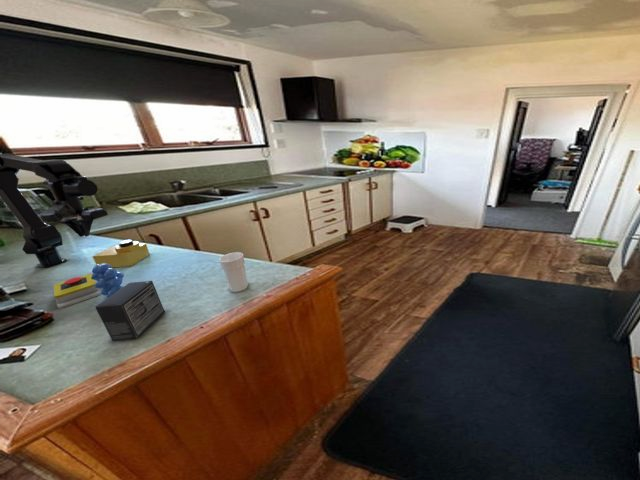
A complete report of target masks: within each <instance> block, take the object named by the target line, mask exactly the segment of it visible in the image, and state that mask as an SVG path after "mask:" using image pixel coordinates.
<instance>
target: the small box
mask: <svg viewBox="0 0 640 480" xmlns="http://www.w3.org/2000/svg"><path fill="white" fill-rule="evenodd" d="M94 309H95V310H96V312H97V314H98V315H99V318H100V319H101V322H102V323H103V326H104V327H105V329H106V331H107V333H108V335H109V337H110V340H111V341H113V342H116V341H127V340H128V341H129V340H138V339H139V338H140V337H141V336H142V335H143V334H144V333H145V332H146V331H147V330H148V329H149V328H151V326H153V325H154V323H155V322H157V320H158V319H160V317H162V316H163V315H164V314H165V313H166V310H165V308H164V306H163V304H162V301H161V298H160V297H159V294H158V292H157V288H156V287H155V284H154V282H153V280H145V281H143V280H142V281H135V282H133V281H132V282H129V283H127V284H126V285H123V288H121V289H120V290H118V291H117V292H115V293H114V294H113V295H111V296H110V297H107V298H105V299H103V300H102V301H101V302H99V303H98V304H96V305H95V306H94Z"/></svg>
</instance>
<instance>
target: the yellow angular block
mask: <svg viewBox="0 0 640 480" xmlns="http://www.w3.org/2000/svg"><path fill="white" fill-rule="evenodd" d="M132 241H133V243H134V244H133V245H130V246H127V247H120V245H119V244H115V245H112V246H110V247H108V248H106V249H104V250H102V251H101V252H100V251H99V252H98V253H96V254H94V255H92V259H93V260H94V263H95V265H100V264H108V265H111V268H123V267H133V266H134V265H135V264H137V263H139V262H140V261H142V260H143V259H145V258H146V257H148V256H151V253H150V250H149V248H148V245H147V243H144V242H143V243H140V242H139V241H137V240H132Z"/></svg>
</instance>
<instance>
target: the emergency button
mask: <svg viewBox="0 0 640 480" xmlns="http://www.w3.org/2000/svg"><path fill="white" fill-rule="evenodd" d="M92 274H93V273H87V274H84V275H81V276H80V275H79V276H77V277H76V276H75V277H72V278H70V279H67V280H63V281H60V282H57V283H55V284H53V297H54V299H55V302H56V307H57V309H63V308H66V307H68V306H72V305H74V304H77V303H80V302H83V301H86V300H89V299H92V298H95V297H97V296H100V295H102V294H101V291H102V290H101V289H99V288H96V287H95V284H96V282H97V281H98V280H94V279H91V276H92Z"/></svg>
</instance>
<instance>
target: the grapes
mask: <svg viewBox="0 0 640 480" xmlns="http://www.w3.org/2000/svg"><path fill="white" fill-rule="evenodd" d="M91 274H92V276H91V279H94V280H97V282H96V284H95V287H96V288H99V289H100V291H101V294H100V295H102V296H106V297H107V298H108V297H110V296H111V295H113V294H114V293H115V292H117V291H118V290H120V289H121V288H123V287H124V285H122V284H123V281H124V276H125V273H123V272H120V271H119V270H118V269H115V268H112V267H111V265H108V264H100V265H96V264H95V265H94V266H93V268H92V270H91Z"/></svg>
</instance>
